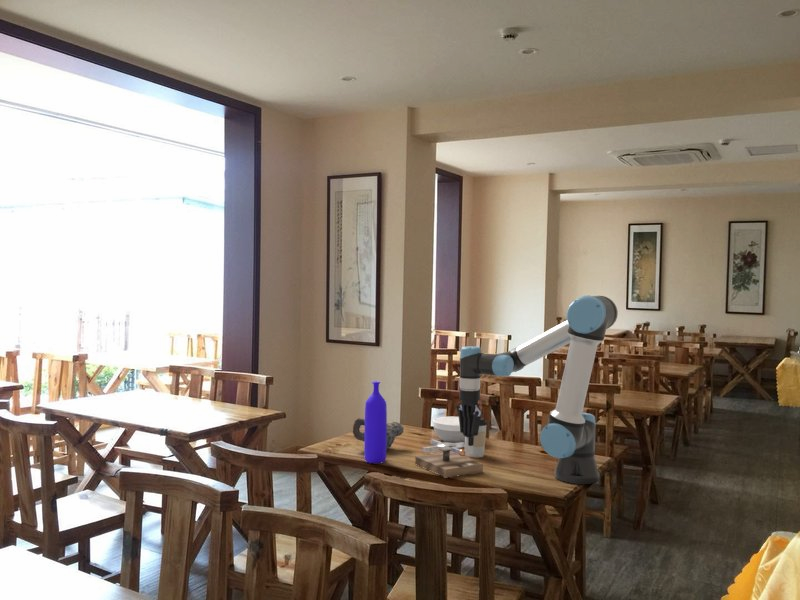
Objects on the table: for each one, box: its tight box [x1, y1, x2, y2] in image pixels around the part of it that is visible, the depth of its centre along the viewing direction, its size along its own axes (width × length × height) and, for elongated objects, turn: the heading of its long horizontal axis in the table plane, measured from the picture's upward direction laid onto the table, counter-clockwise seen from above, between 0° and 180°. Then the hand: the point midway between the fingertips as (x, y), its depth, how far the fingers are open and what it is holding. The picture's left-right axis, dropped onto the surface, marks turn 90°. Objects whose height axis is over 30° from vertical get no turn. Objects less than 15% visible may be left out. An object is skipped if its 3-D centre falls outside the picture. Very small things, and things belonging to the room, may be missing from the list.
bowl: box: [432, 415, 464, 443], centre depth 291 cm, size 19×19×9 cm
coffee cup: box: [465, 416, 488, 458], centre depth 267 cm, size 9×9×15 cm
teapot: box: [352, 417, 405, 450], centre depth 275 cm, size 21×12×15 cm, turn 108°
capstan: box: [422, 439, 466, 457], centre depth 246 cm, size 21×19×2 cm
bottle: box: [363, 380, 388, 464], centre depth 256 cm, size 8×8×30 cm
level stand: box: [414, 451, 484, 479], centre depth 247 cm, size 20×16×7 cm
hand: (468, 453), depth 247 cm, fingers closed
